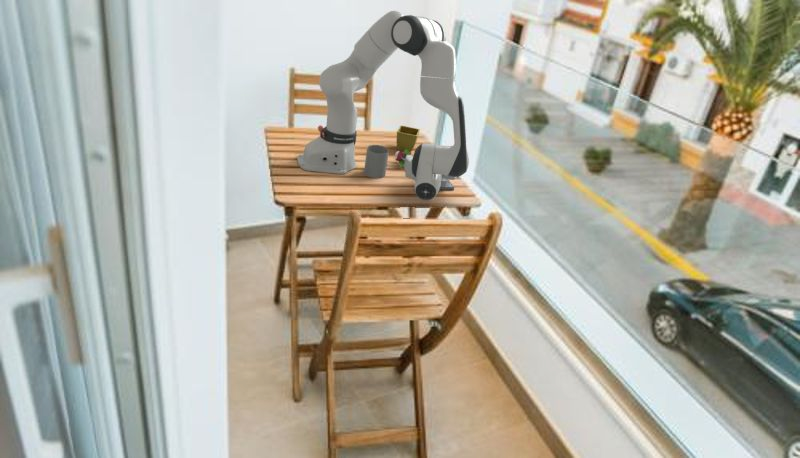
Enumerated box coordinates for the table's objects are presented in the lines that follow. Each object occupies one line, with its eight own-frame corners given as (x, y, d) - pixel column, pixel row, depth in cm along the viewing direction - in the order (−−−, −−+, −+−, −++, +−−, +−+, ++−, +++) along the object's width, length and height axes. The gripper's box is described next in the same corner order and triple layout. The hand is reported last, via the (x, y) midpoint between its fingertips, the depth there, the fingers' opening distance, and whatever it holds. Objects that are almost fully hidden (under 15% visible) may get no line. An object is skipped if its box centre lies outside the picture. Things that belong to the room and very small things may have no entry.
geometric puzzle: (411, 156, 214) (403, 142, 209) (419, 163, 209) (411, 149, 204) (397, 166, 214) (389, 152, 208) (404, 173, 209) (396, 159, 203)
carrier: (424, 189, 194) (426, 180, 192) (410, 170, 207) (412, 161, 205) (453, 189, 198) (455, 181, 196) (438, 170, 211) (440, 162, 209)
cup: (366, 177, 195) (369, 153, 190) (361, 168, 201) (364, 144, 196) (387, 178, 197) (391, 154, 192) (382, 169, 204) (386, 145, 199)
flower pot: (413, 155, 221) (417, 135, 216) (393, 151, 222) (396, 131, 217) (416, 148, 229) (420, 129, 224) (397, 144, 229) (400, 125, 225)
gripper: (460, 171, 182) (462, 156, 194) (403, 159, 183) (408, 146, 195) (456, 187, 185) (458, 172, 197) (401, 175, 186) (406, 161, 198)
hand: (433, 159), depth 196 cm, fingers open, 8 cm apart
